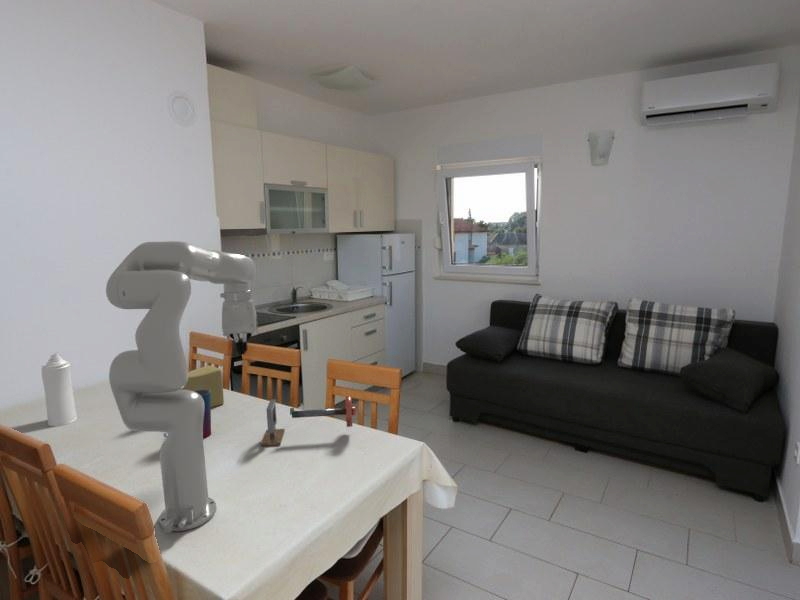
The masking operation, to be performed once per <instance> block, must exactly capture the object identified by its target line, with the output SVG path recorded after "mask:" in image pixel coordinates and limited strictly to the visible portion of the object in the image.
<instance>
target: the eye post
mask: <svg viewBox="0 0 800 600" xmlns="http://www.w3.org/2000/svg"><path fill="white" fill-rule="evenodd" d="M276 405H277V403H276V399H275V398H274V399H270V400H269V403H268V404H267V407H266V419H267V420H266V422H267V423H266V424H267V429H266V430H265V432H264V434H263V437H262V441H261V442H260V447H276V446H281V444H282V441H283V438H284V435H285V428H277V427H276V425H277V422H278V420H277V409H276V408H277V407H276Z"/></svg>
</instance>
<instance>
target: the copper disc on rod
mask: <svg viewBox="0 0 800 600" xmlns="http://www.w3.org/2000/svg"><path fill="white" fill-rule="evenodd" d="M352 399H353V398H352V395H345V407H341V408H339V407H338V408H325V409H324V408H321V409H305V410H295V407H290V409H289V415H291V418H292V419H297V418H313V417H314V418H316V417H330V416H333V417H334V416H345V417H346V418H345V419H346V428H352V427H353V416H356V415H357V414H356V413H357V412H356V411H357V410H356V408H357V407H356V406H353V401H352Z"/></svg>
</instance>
